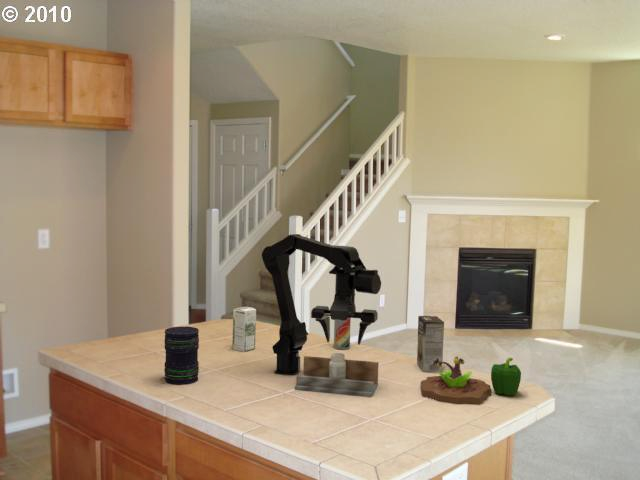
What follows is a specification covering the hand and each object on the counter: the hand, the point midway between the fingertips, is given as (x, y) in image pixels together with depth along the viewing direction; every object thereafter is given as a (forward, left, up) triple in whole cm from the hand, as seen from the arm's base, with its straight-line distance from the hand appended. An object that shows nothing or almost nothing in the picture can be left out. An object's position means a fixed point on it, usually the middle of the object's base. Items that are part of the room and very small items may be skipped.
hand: (343, 343), depth 200 cm
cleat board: (-1, -7, -12) cm, 14 cm away
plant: (+32, +1, -13) cm, 35 cm away
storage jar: (-46, -12, -12) cm, 49 cm away
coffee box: (+23, +24, -12) cm, 36 cm away
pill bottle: (-1, -4, -11) cm, 12 cm away
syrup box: (-41, +28, -12) cm, 51 cm away
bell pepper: (+46, +4, -12) cm, 48 cm away
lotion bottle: (-9, +41, -12) cm, 44 cm away
